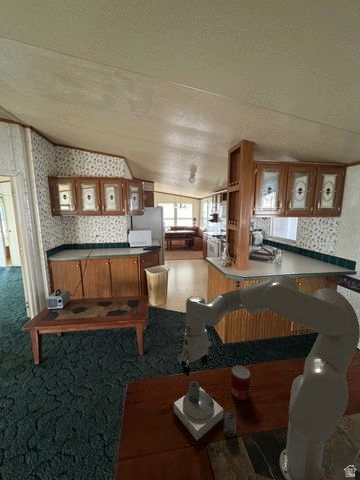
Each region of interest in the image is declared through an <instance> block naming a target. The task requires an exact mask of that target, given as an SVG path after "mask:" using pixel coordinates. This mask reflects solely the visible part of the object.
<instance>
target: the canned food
mask: <svg viewBox="0 0 360 480" xmlns="http://www.w3.org/2000/svg"><path fill="white" fill-rule="evenodd" d="M230 381H231V382H230V392H231V396H233V397H234V398H235V400H238V401H246V400H247V399H248V398H249V396H250V386H251V371H250V369H248V368H247V367H245V366H243V365H235V366H233V367H232V368H231V379H230Z"/></svg>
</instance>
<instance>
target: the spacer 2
mask: <svg viewBox="0 0 360 480" xmlns="http://www.w3.org/2000/svg"><path fill="white" fill-rule="evenodd" d="M236 431H237V415H236V414H235V413H234V412H232V411H227V412H225V413H224V414H223V433H224V435H225V436H226V437H227V438H231V439H232V438H235V436H236V433H237V432H236Z"/></svg>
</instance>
